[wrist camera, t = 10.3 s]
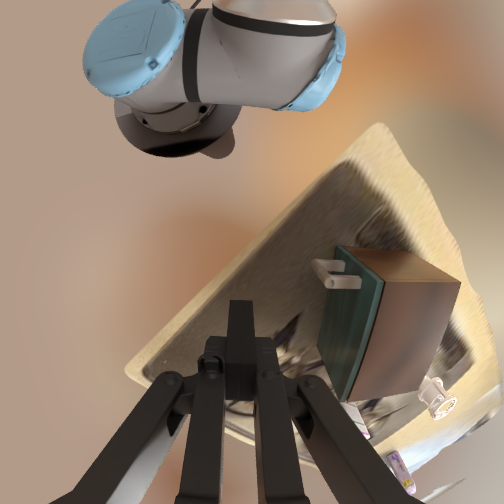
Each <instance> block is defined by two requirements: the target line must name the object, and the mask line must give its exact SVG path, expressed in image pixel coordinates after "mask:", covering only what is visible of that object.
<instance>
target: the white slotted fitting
mask: <svg viewBox="0 0 504 504" xmlns="http://www.w3.org/2000/svg"><path fill="white" fill-rule="evenodd" d="M442 385H443V382H442V380H441V379H440V378H438V377H436V378H433V379H431V380H430V378H429V377H428V376H427V374H426V376H425V378H424V380H423V382H422V384H421V389H420V390H419V392H418V398H419V399H420V401H425V402H426V404H427V405H428V406H429V409H428V410H429V411H430V413H431V414H430V416H431V417H432V419H433V420H438V419H440V418H442V417H444V416H445V415H446V414H448V413H449V412H450V411H451V410H452V409H453V407H454V406H455V404H456V401H457V400H456V398H455V397H454V396H453V395H451V396H449V394H448V393H447V392H446V391H445V389H444V388H443V387H442ZM450 400H453V401H452V403H451V405H450V406H449V407H448V408H447V409H446V410H445V411H443V412H439V411H438V410H440V409H439V408H440V407H441V406H442V405H443V404H445V403H446V402H448V401H450Z"/></svg>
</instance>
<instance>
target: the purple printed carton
mask: <svg viewBox="0 0 504 504" xmlns="http://www.w3.org/2000/svg"><path fill="white" fill-rule="evenodd" d="M387 458H388V461H389V463H390V465H391V467H392V469H393V472H394V474H395V476H396V478H397V480H398V481H399V482H400V484H401V485H402V486H403V487H404V489H405V490H406V491H407V493H408V494H409V495H412V494H414V493H415V492H416V488H415V484H414V482H413V480H412V478H411V476H410V474H409V472H408V470H407V468H406V466H405V464H404V462H403V460H402V459H401V457H400V455H399V453H398V451H396V452H394V453H392V454H390V455H388V456H387Z"/></svg>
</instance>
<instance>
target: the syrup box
mask: <svg viewBox="0 0 504 504" xmlns="http://www.w3.org/2000/svg"><path fill="white" fill-rule="evenodd" d="M331 391H332V393H333V394H334V396H335V397H336V398H337V395H336V393H335V390H334V388H333V389H332V390H331ZM337 400H338V398H337ZM340 404H341V405H342V406H343V408H344V409H345V411H346V412H347V413H348V415H349V416H350V417H351V419H352V420H353V421H354V423H355V424H356V425H357V427H358V428H359V429H360V431H361V432H362V433H363V435H364V436H365V437H366V439H369V438H370V435H369V433H368V431H367V429H366V426H365V424H364V422H363V420H362V418H361V415H360V413H359V411H358V409H357V407H356V404H355V402H348V403H347V401H345V402H342V403H340Z"/></svg>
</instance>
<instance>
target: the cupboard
mask: <svg viewBox="0 0 504 504" xmlns="http://www.w3.org/2000/svg"><path fill="white" fill-rule="evenodd" d="M342 247H343V248H344V249H345V250H347V251H348V252H349V253H350V254H352V255H353V256H354V257H355V258H357V259H358V260H359V261H360V262H361V263H363V264H364V265H365V266H366V267H367V268H369V269H370V270H371V271H372V272H373V273H375V274H376V275H377V276H378V277H379V278H381V279H382V280H383V281H384V284H383V288H382V292H381V296H380V300H379V304H378V308H377V311H376V315H375V318H374V322H373V325H372V329H371V332H370V335H369V338H368V342H367V345H366V348H365V351H364V354H363V357H362V359H361V362H360V365H359V368H358V371H357V373H356V376H355V379H354V381H353V384H352V387H351V389H350V392H349V394H348V397H347V399H346V401H347V403H348V402H356V401H363V400H370V399H376V398H382V397H387V396H393V395H398V394H403V393H407V392H412V391H416V390H418V389H419V388H420V386H421V384H422V382H423V380H424V378H425V376H426V374H427V372H428V370H429V368H430V365H431V363H432V361H433V359H434V357H435V354H436V352H437V350H438V347H439V345H440V343H441V340H442V338H443V335H444V333H445V330H446V328H447V325H448V322H449V319H450V317H451V314H452V311H453V308H454V305H455V302H456V299H457V295H458V292H459V289H460V285H461V282H460V281H458V280H457V279H455V278H453V277H452V276H450V275H448V274H447V273H445V272H443V271H442V270H440V269H438V268H437V267H435V266H433V265H432V264H430V263H428V262H426V261H425V260H423V259H421V258H419V257H418V256H416V255H414V254H412V253H411V252H409V251H403V250H389V249H376V248H362V247H348V246H342Z"/></svg>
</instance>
